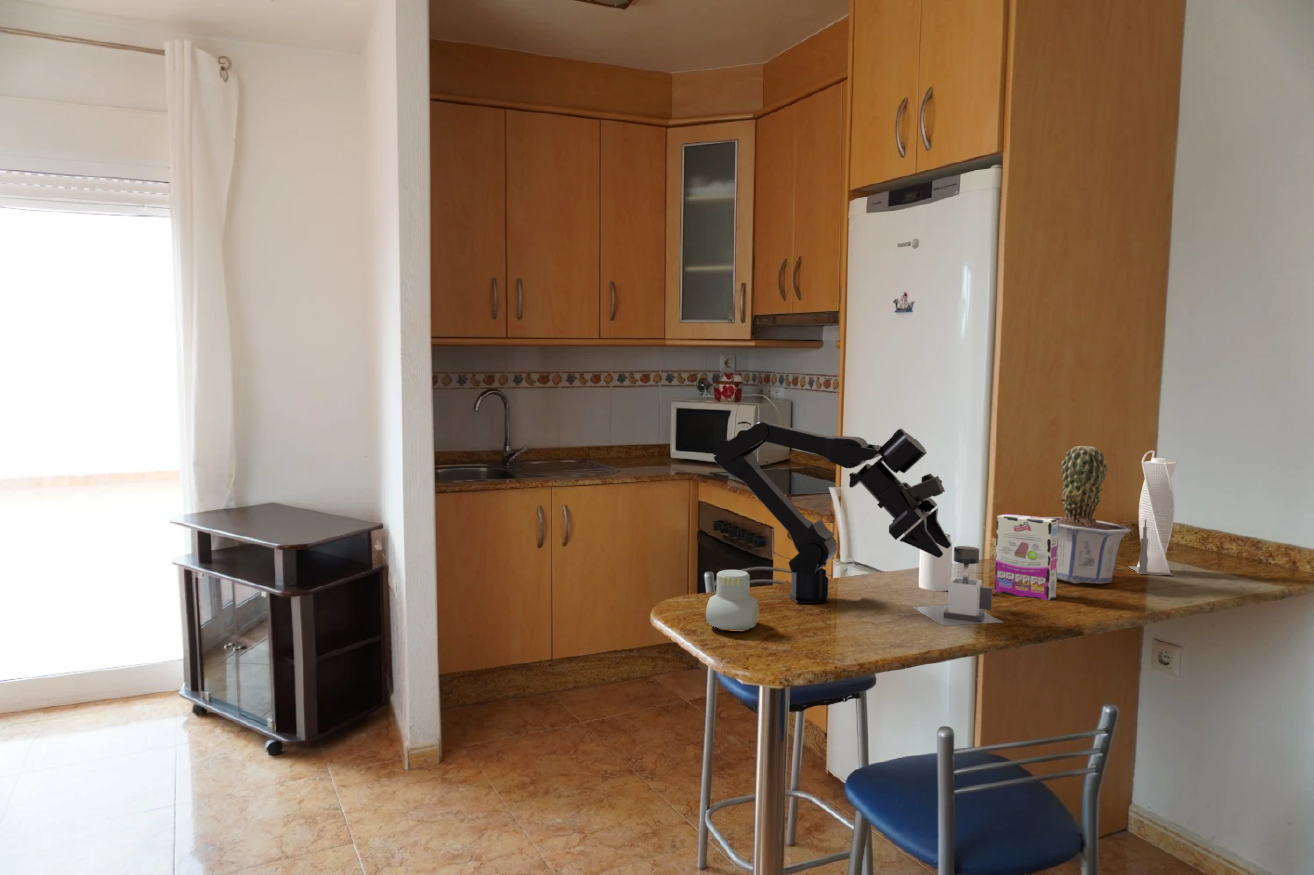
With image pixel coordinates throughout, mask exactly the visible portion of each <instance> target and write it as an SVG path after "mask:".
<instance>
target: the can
mask: <svg viewBox="0 0 1314 875" xmlns="http://www.w3.org/2000/svg"><path fill="white" fill-rule="evenodd" d="M944 533H945V535H946V536H947V538H948V540H949V542H950V543H951V546H950V547H949V548H948V549H946V548H945V547H943V546H941V545H939V544H937V545H938V546H939V548H940V549H941V551H942V552H943V555H942V556H941V557H940V558H938V557H936V556H934V555H931V554H929V553H927V552H925V551H923V550H921V549H919V564H918V565H919V566H918V587H919V588H920V589H923V590H926V591H927V590H928V591H932V592H946V591H948V588H949V581H950V580H951V578H952V570H953V569H952V565H953V562H952V561H953V542H952V539H951V534H949V533H946V532H944Z"/></svg>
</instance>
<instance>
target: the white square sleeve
mask: <svg viewBox="0 0 1314 875" xmlns="http://www.w3.org/2000/svg"><path fill="white" fill-rule="evenodd" d="M993 589H994V588H993V587H991V586H990V587H989V586H983V580H982V579H977V578H969V579H968V584H963V577H959V576H954V577H951V580H950V581H949V588H948V590H947V591H948V592H947V597H948V598H947V606H948V607H947V608H946V610H945V611H944V618H949V619H957V620H965V621H972V622H981V620H982V618H983V616H984V614H985V613H986V611H985V610H987V611H992V609H993Z"/></svg>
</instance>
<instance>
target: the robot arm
mask: <svg viewBox="0 0 1314 875" xmlns="http://www.w3.org/2000/svg"><path fill="white" fill-rule="evenodd" d="M766 443H769V444H774V445H778V446H782V447H787V448H791V449H793V450H794V449H795V450H799V451H802V452H807V453H811V454H814V455H817V456H820V457H822V458H824V459H825V460H827V461H828V462H830V463H833V464H835V465H838V466H840V467H842V468H845V469H853V468H854V469H855V468H857V467H859V466H862V465H863V464H864V465H863V466H862V468H860V469H859V470H858V471H857V472H854V471H853V472H851V473H849V475H848V476H849V484H848V486H849V488H854V487H856V486H857V485H859V484H861V486H863V488H865V489H866V490H867V492H869V493H870V495H871V496H872V498H874V499H875V500H876V501H877V504H876V505H877V506H878V507H879V509H883V508H884V509H885V511H886V512H887V513H888V514H889V515H890V516H891V517H892V518H893V520H892V522H891V523H890V524H889V526H888V533H889V535H890V536H892V537H893V539H894V540H895V541H897V540H898V539H899V538H900V537H901V538H900V539H899V542H901V543H904V544H907V545H909V546H912V547H914V548H917V549H918V550H920V549H921V550H923V551H925V552H927V553H929V554H931V555H934V556H936V557H938V558H940V557H941V556H942V555H943V552H942V551H941V549H940V548H939V546H938V545H937V544H939V545H941V546H943V547H945V548H946V549H948V548H949V547H950V546H951V543H950V542H949V540H948V538H947V536H946V535H945V533H946V532H945V531H944V529H943V528H942V526H941V525H940V522H939V520H938V513H939V507H937V506H938V504H937V503H936V501H935V500H933V498H931V497H937V496H940V495H942V494H943V493H945V492H946V490H945V488H944V486H943V480H942V479H940V477H939V476H938V475H937V476H934V475H933V474H932V473H928V474H925V475H923V476H921V480H920V481H921V482H918V483H916V484H914V485H910V484H909V483H908V482H905V481H904V482H902V481H901V480H900V479H899V478H898V477H897V476H896V475H895V474H897V473H899V472H900V473H903V474H906V472H908V471H909V470H910V469H912V468H913V466H915V464H916V463H918V461H920V460H921V459H923V457H925V456H926V455H927V450H926V449H925V447H924V446H923V445H922V444H921V442H920V441H919V440H918V439H917V438H914V437H913V436H912V435H910V434H909V433H907V432H906V431H905V430H904V428H898V429H897V430H896V431H895V432H894V433H893V434H892V436H891V437H890V438H889V439H888V440H887V441H886V442H885V443H884V444H883V445H879V444H871V443H868V442H867V441H866V440H865V439H864V438H862V437H861V436H860V437H859V436H848V435H824V434H820V433H815V432H811V431H807V430H803V429H798V428H794V427H790V426H785V425H782V424H778V423H774V422H772V421H769V420H763V421H759V422H756V423H754V425H753V426H751V427H750V428H748V429H747V430H745V431H743V432H742V433H740V434H738V435H736V436H735V437H733V438H729V439H725V440H721V441H719V442H718V443H717V444H715V447H714V448H713V460H714V462H715V463H716V465H718V466H719V467H720V468H721V469H723V470H724V471H725V472H726V473H728V474H729V475H731V476H733V477H735V478H736V479H737V480H739V481H741V482H742V483H744V484H745V485H746V487H747V488H748V489H749V490H750V491H751V492H752V493H753V494H754V495H755V497H757V499H758V500H759V501H760V502H761V503H762V504H763V506H765V507H766V508H767V510H768V511H769V512H770V514H772V516H773V517H774V518H775V519H776V520H777V521H778V522H779V523H780V524H781V525H782V527H783V528H784V529H785V530H786V531H787V532H788V534H789V535H790V538H791V541H792V543H793V546H794V547H795V548H794V549H795V550H796V551H797V554H796V555H795V556H794V557H793V558H791V560H789V561H788V565H789V569H790V573H791V574H790V575H791V577H790V579H791V581H790V584H791V585H790V587H791V588H790V593H788V595H787V596H788V597H789V598H790V599H792V600H793V601H794V602H795V603H797V604H798V605H799V604H803V605H804V604H821V603H822V604H823V603H826V604H827V603H829V602H830V601H829V599H828V596H829V577H828V576H827V570H826V569H824V568H825V567H826V566H827V564H828V562H829V561H830V560H831V559H832V558H834V556H835V555H836V553H837V549H838V548H837V545H838V544H837V541H836V539H835V537H834V536H835V533H834V532H832V531H831V530H830V529H829V528H827V526H826V525H825V523H824V521H823V520H822V519H819V520H817V521H815V522H813V521H811V520H809V519H808V518H806V516H804V514H802V513H801V511H800V510H799V509H798V508H797V507H796V506H795V504H793V502H792V501H791V500H790V499H789V498H788V497H787V496H786V494H784V492H783V491H782V490H781V489H780V488H779V487H778V485H776V483H774V482H773V480H772V479H771V478H770V477H769V476H768V475H767V474H766V473H765V471H763V469H762V467H760V463H759V461H758V459H757V457H756V456H757V455H755V453H754V452H755V451H756V450H758V449H759V448H761V446H763V445H764V444H766ZM879 457H880V458H879ZM876 458H879V459H877V460H876V461H875V463H873V464H870V463H866V462H867V461H871V460H874V459H876ZM865 463H866V464H865ZM894 473H895V474H894ZM934 509H935V510H934ZM902 535H903V536H902Z"/></svg>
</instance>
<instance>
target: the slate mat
mask: <svg viewBox="0 0 1314 875" xmlns="http://www.w3.org/2000/svg"><path fill="white" fill-rule="evenodd" d="M947 607H948V605H932V606H930V605H928V606H913V607H912V606H911V608H912V609H914V610H915V611H918V612H919V613H921V614H923V616H926V617H927V618H929V619H931V620H933V621H934V622H936V623H938V624H940V625H941V626H959V625H960V626H961V625H981V624H998V623H999V624H1000V623H1001V624H1002V623H1005V622H1004V621H1002V620H1000V619H998V618H996V617H994V616H993V615H991V614H989V613H987V612H985V614H984V616H983V618H982V620H981V622H972V621H965V620H957V619H949V618H944V611H945V610H946V608H947Z"/></svg>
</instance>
